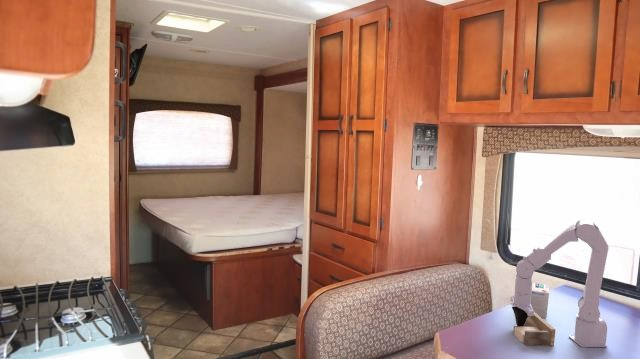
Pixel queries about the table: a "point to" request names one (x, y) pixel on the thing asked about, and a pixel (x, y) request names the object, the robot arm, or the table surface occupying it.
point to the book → (523, 331)
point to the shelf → (539, 332)
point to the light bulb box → (540, 299)
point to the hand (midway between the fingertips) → (520, 326)
